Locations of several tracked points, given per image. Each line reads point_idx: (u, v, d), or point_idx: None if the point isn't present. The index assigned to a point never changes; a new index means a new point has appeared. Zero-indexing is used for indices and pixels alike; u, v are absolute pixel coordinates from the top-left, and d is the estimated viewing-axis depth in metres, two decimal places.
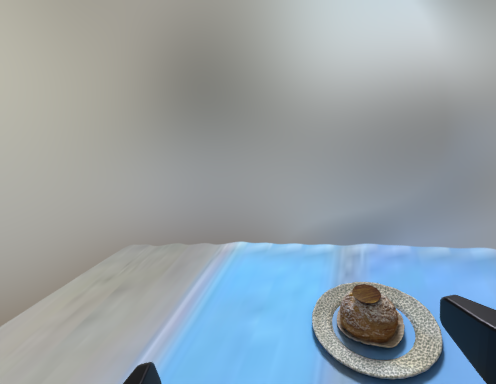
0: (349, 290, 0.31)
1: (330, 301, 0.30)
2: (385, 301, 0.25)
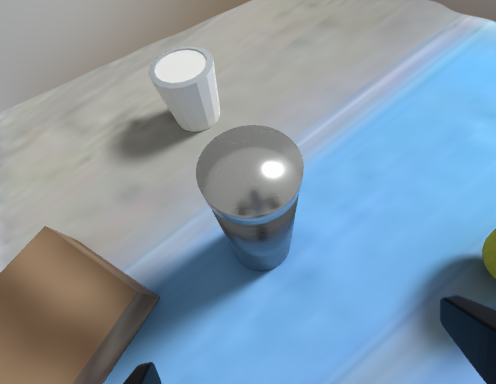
0: None
1: None
2: None
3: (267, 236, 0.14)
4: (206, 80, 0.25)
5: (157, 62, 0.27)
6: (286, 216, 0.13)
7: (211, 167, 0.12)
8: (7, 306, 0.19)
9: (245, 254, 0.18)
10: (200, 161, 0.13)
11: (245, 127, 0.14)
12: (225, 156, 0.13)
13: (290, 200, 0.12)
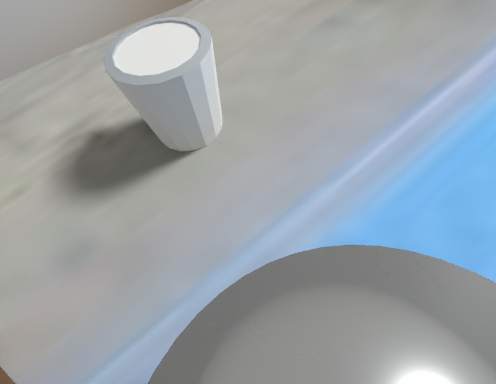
0: None
1: None
2: None
3: None
4: (200, 71, 0.15)
5: (119, 42, 0.16)
6: None
7: None
8: None
9: None
10: None
11: (338, 256, 0.03)
12: None
13: None
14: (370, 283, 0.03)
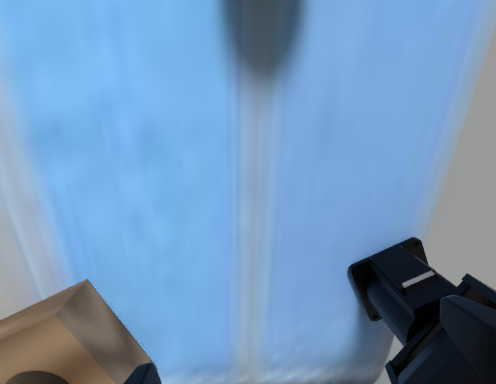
0: None
1: None
2: None
3: None
4: None
5: None
6: None
7: None
8: None
9: None
10: None
11: None
12: None
13: None
14: None
